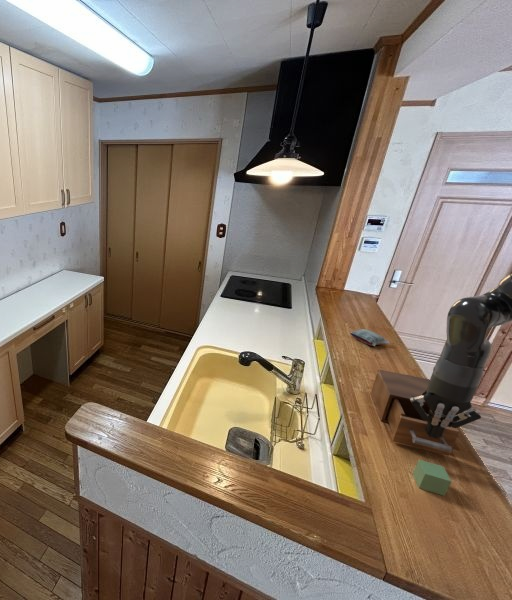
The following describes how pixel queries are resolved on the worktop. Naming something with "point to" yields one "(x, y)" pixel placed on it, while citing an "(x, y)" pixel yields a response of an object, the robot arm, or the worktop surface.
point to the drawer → (417, 428)
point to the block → (431, 477)
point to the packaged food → (369, 337)
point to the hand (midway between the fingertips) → (431, 435)
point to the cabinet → (395, 390)
